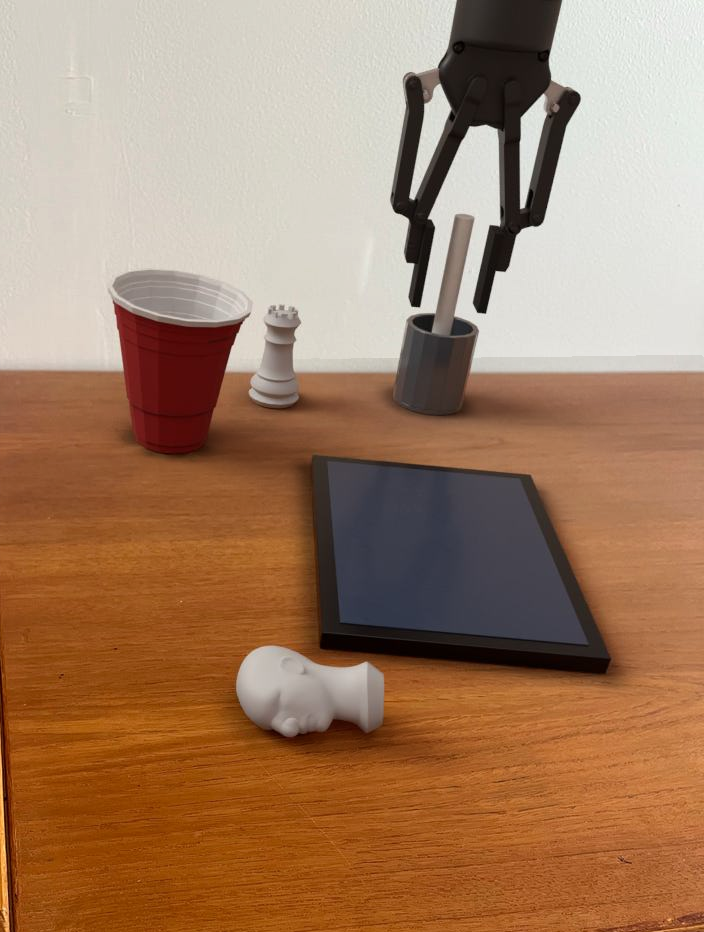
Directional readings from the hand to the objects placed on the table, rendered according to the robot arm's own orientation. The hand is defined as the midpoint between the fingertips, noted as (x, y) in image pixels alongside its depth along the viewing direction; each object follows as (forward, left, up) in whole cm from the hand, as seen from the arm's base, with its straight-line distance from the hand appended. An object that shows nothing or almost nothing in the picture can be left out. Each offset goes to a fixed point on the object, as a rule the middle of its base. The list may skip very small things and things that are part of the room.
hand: (446, 304), depth 88 cm
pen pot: (0, 0, -9) cm, 9 cm away
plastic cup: (+22, +13, -9) cm, 27 cm away
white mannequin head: (+12, +47, -9) cm, 49 cm away
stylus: (0, 0, -8) cm, 8 cm away
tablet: (+2, +28, -9) cm, 29 cm away
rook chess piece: (+14, +3, -9) cm, 17 cm away
